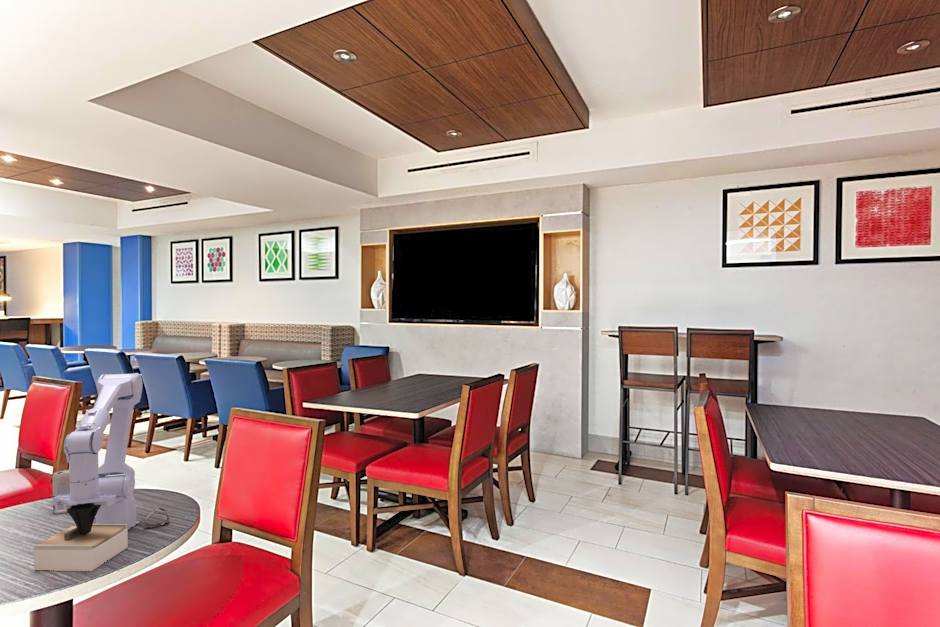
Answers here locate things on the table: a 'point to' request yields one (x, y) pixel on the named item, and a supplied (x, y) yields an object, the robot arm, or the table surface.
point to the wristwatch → (153, 513)
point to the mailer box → (79, 553)
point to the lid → (83, 536)
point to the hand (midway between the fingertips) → (85, 533)
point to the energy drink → (61, 489)
